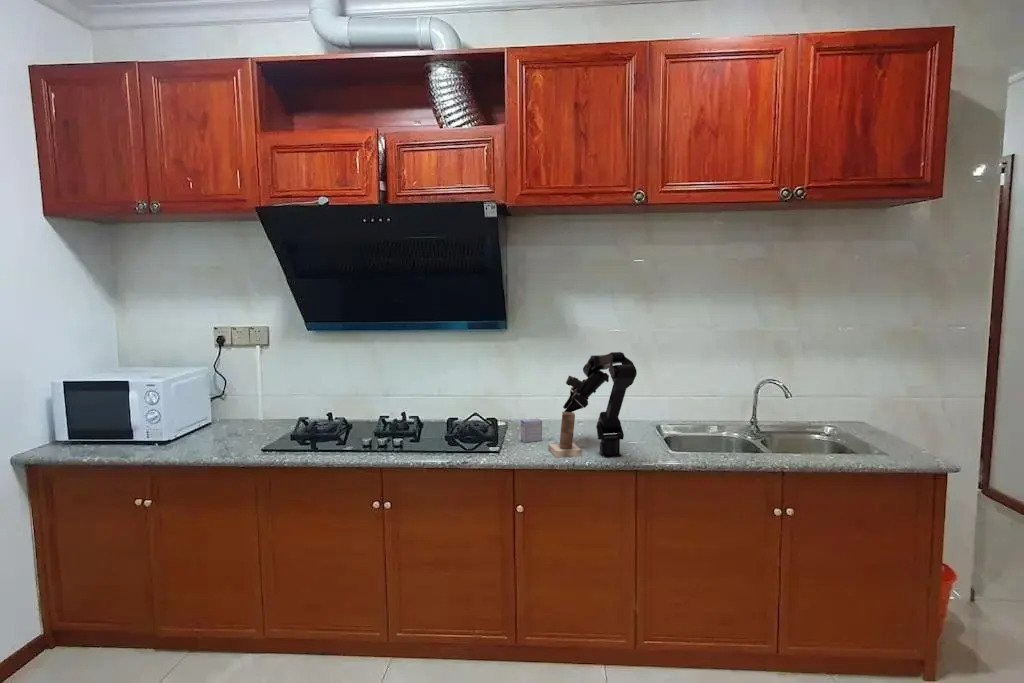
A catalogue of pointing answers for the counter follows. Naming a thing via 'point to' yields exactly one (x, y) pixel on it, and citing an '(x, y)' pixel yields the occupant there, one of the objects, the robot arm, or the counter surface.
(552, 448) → the birch block
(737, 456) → the counter surface
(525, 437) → the medicine box
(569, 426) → the walnut block
